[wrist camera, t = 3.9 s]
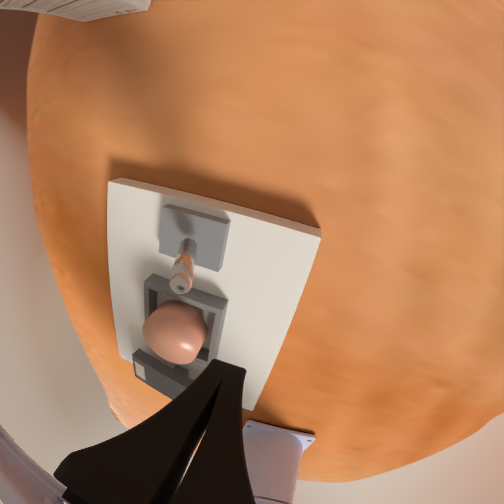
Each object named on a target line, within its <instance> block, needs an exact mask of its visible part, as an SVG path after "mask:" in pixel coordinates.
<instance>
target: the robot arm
mask: <svg viewBox="0 0 504 504" xmlns="http://www.w3.org/2000/svg"><path fill="white" fill-rule="evenodd" d="M246 372H247V371H246V369H245V368H242V367H239V366H236V365H233V364H230V363H227V362H224V361H221V360H218V359H212V360H211V361H210V363H209V364H208V365H207V367H206V368H205V369H204V370H203V372H202V373H201V374H200V375H199V376H198V377H197V378H196V379H195V380H194V381H193V382H192V383H191V384H190V385H189V386H188V387H187V388H186V389H185V390H184V391H183V392H182V393H181V394H179V395H178V396H177V397H176V398H175V399H174V400H172V401H171V402H170V403H169V404H167V405H166V406H165V407H164V408H162V409H161V410H160V411H158V412H157V413H155V414H154V415H153V416H151V417H150V418H148V419H147V420H145V421H143V422H142V423H140V424H138V425H137V426H135V427H133V428H131V429H130V430H128V431H126V432H124V433H122V434H120V435H118V436H116V437H113V438H111V439H109V440H106V441H104V442H102V443H100V444H97V445H94V446H91V447H88V448H85V449H81V450H78V451H75V452H72V453H70V454H69V455H68V456H67V457H66V458H65V459H64V460H63V461H62V462H61V463H60V465H59V466H58V468H57V469H56V471H55V472H54V474H53V475H54V477H55V478H56V479H57V480H58V481H59V482H58V481H57V480H56V479H55V478H53V477H52V476H51V475H50V474H49V473H47V472H46V471H45V470H44V469H43V468H41V467H40V466H39V465H38V464H37V463H36V462H35V461H34V460H33V459H31V458H30V457H29V456H28V455H27V454H26V453H25V452H24V451H23V450H22V449H21V448H20V447H19V446H18V445H17V444H16V443H15V442H14V439H13V438H12V437H11V436H10V435H9V434H8V433H7V432H6V430H5V429H4V428H3V427H2V426H1V425H0V499H1V501H2V502H3V503H4V504H64V503H63V501H64V502H66V503H67V504H292V503H293V498H294V494H295V489H296V484H297V479H298V473H299V468H300V462H301V456H302V452H303V451H304V450H305V449H306V448H307V447H308V446H310V445H311V444H312V443H313V442H314V441H315V440H316V436H315V435H312V434H307V433H302V432H297V431H292V430H288V429H283V428H279V427H275V426H271V425H267V424H263V423H260V422H256V421H253V420H247V421H246V423H245V425H244V427H243V429H242V396H243V386H244V380H245V376H246ZM206 428H207V429H206ZM205 430H206V432H205ZM204 432H205V434H204ZM203 434H204V436H203ZM202 436H203V438H202ZM201 438H202V440H201ZM200 440H201V442H200V445H199V447H198V449H197V451H196V453H195V455H194V457H193V459H192V461H191V463H190V466H189V468H188V470H187V472H186V474H185V476H184V477H183V475H184V473H185V470H186V468H187V466H188V463H189V461H190V458H191V457H192V455H193V453H194V451H195V449H196V447H197V445H198V443H199V441H200ZM182 477H183V479H182ZM181 480H182V481H181ZM60 482H61V483H62V484H63V485H62V484H61V483H60ZM180 482H181V483H180ZM65 486H66V487H67V488H66V487H65Z"/></svg>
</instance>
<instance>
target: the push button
mask: <svg viewBox="0 0 504 504" xmlns="http://www.w3.org/2000/svg"><path fill="white" fill-rule="evenodd" d="M142 332H143V336H144V339H145V341H146V343H147V344H148V346H149V347H150V348H151V349H152V350H153V351H154V352H155V353H156V354H157V355H159V356H160V357H161V358H163V359H165V360H167V361H169V362H172V363H175V364H188V363H190V362H192V361H193V360H194V359H195V357H196V356H197V354H198V352H199V350H200V349H201V347H202V345H203V343H204V342H205V340H206V338H207V335H208V329H207V325H206V323H205V321H204V319H203V318H202V316H201V315H200V314H199V313H198V312H197V311H196V310H195V309H194V308H192V307H191V306H189V305H188V304H186V303H183V302H180V301H176V300H169V301H165V302H163V303H161V304H160V305H159V306H158V308H157V309H156V310H155V311H154V312H153V313H152V314H151V315H150V317H149V318H148V319H147V320H146V321H145V322H144V324H143V328H142Z"/></svg>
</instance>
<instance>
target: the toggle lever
mask: <svg viewBox="0 0 504 504" xmlns="http://www.w3.org/2000/svg"><path fill="white" fill-rule="evenodd" d="M196 253H197V244H196V242H195V241H194V240H193V239H191V238H185V239H183V240H182V241H181V242H180V244H179V248H178V251H177V255H176V258H175V262H174V266H173V269H172V273H171V277H170V282H169V283H170V287H171V289H172V290H173V291H174V292H175V293H177V294H185V293H187V292H188V291H189V290H190V289H191V287H192V282H193V275H194V267H195V260H196Z"/></svg>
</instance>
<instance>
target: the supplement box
mask: <svg viewBox="0 0 504 504" xmlns="http://www.w3.org/2000/svg"><path fill="white" fill-rule="evenodd" d="M151 1H152V0H0V9H13V10H24V11H31V12H38V13H44V14H50V15H55V16H60V17H64V18H68V19H72V20H76V21H81V22H88V21H93V20H97V19H102V18H106V17H111V16H117V15H122V14H129V13H135V12H142V11H147V10H148V9H149V6H150V4H151Z"/></svg>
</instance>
